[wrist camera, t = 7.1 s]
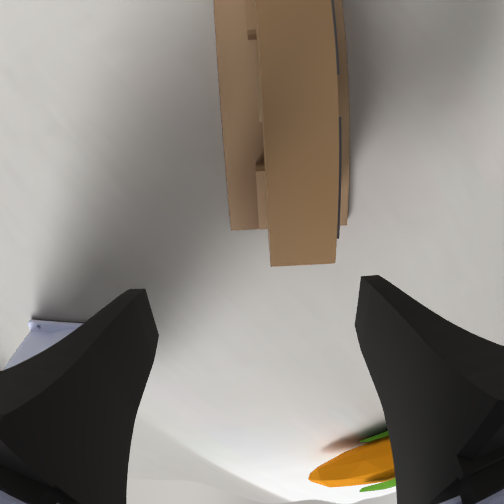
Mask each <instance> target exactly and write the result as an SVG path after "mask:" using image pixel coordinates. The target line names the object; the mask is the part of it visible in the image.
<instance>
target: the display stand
mask: <svg viewBox="0 0 504 504" xmlns="http://www.w3.org/2000/svg"><path fill="white" fill-rule="evenodd" d="M334 8H335V18H336V28H337V40H338V54H339V70H340V75H337V83H338V110H339V117H341V129H342V168H341V208H340V225H347V216H348V193H349V90H348V69H347V53H346V39H345V28H344V17H343V8H342V0H334ZM214 15H215V32H216V47H217V63H218V77H219V91H220V104H221V118H222V130H223V143H224V155H225V167H226V179H227V190H228V202H229V213H230V224H231V230H247V229H268V225H267V203H266V183H265V163H264V145H263V127H262V110H261V93H260V78H259V62H258V48H257V33H256V19H255V6H254V0H214Z"/></svg>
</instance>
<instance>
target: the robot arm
mask: <svg viewBox="0 0 504 504" xmlns="http://www.w3.org/2000/svg"><path fill="white" fill-rule="evenodd" d="M28 326H29V328H30V330H31V331H30V332H29V334H28V335H27V336H26V338H25V339H24V340H23V342H22V343H21V345H20V346H19V347H18V349H17V350H16V352H15V353H14V354H13V356H12V357H11V359H10V360H9V361H8V363H7V364H6V366H5V367H4V369H3V371H0V504H126V487H127V473H128V462H129V454H130V446H131V439H132V433H133V428H134V422H135V418H136V414H137V410H138V407H139V404H140V401H141V398H142V395H143V392H144V389H145V386H146V383H147V380H148V377H149V374H150V371H151V368H152V365H153V362H154V358H155V353H156V348H157V343H158V337H159V334H158V331H157V328H156V324H155V321H154V318H153V314H152V311H151V308H150V304H149V301H148V297H147V293H146V290H145V289H129V290H127V291H126V292H124V293H123V294H121V295H120V296H118V297H117V298H116V299H115V300H113V301H112V302H111V303H109V304H108V305H107V306H106V307H104V308H103V309H102V310H100V311H99V312H98V313H97V314H95V315H94V316H93V317H92V318H90V319H89V320H88V321H86V322H85V323H69V322H55V321H42V320H29V322H28ZM355 328H356V332H357V337H358V341H359V344H360V348H361V351H362V354H363V357H364V359H365V362H366V364H367V367H368V370H369V372H370V375H371V377H372V380H373V382H374V385H375V388H376V390H377V393H378V396H379V398H380V401H381V404H382V407H383V411H384V415H385V419H386V424H387V428H388V433H389V438H390V444H391V450H392V455H393V462H394V470H395V479H396V491H397V504H504V346H502V345H499V344H496V343H494V342H491V341H489V340H486V339H484V338H481V337H479V336H477V335H475V334H472V333H470V332H468V331H466V330H464V329H462V328H460V327H458V326H457V325H455V324H453V323H451V322H449V321H447V320H446V319H444V318H442V317H441V316H439V315H437V314H436V313H434V312H433V311H431V310H429V309H428V308H426V307H425V306H423V305H422V304H420V303H419V302H417V301H416V300H414V299H413V298H412V297H410V296H409V295H407V294H406V293H404V292H403V291H402V290H400V289H399V288H397V287H396V286H394V285H393V284H391V283H390V282H388V281H387V280H385V279H384V278H382V277H381V276H379V275H373V276H361V281H360V290H359V298H358V306H357V313H356V320H355Z"/></svg>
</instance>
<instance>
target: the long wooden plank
mask: <svg viewBox="0 0 504 504" xmlns="http://www.w3.org/2000/svg"><path fill="white" fill-rule="evenodd" d="M254 6H255V19H256V33H257V48H258V62H259V78H260V93H261V110H262V127H263V145H264V163H265V183H266V203H267V225H268V239H269V251H270V264H271V267H272V266H292V265H312V264H330V263H335V258H336V242H337V239H338V238H339V230H340V208H341V168H342V129H341V117H339V110H338V83H337V75H340V70H339V54H338V40H337V28H336V18H335V8H334V0H254Z"/></svg>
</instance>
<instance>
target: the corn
mask: <svg viewBox="0 0 504 504" xmlns="http://www.w3.org/2000/svg"><path fill="white" fill-rule="evenodd" d="M372 440H373V441H372ZM369 441H371V442H369ZM360 442H368V443H366V444H364V445H361V446H359V447H356V448H354V449H351V450H349V451H346V452H344V453H342V454H340V455H339V456H337V457H335V458H333V459H331V460H330V461H328V462H326V463H324V464H322V465H320V466H319V467H317V468H316V469H315V470H314V471H312V472H311V473H310V475H309V479H308V480H310V481H312V482H315V483H318V484H321V485H324V486H328V487H341V486H353V485H362V484H370V483H378V482H382V483H379V484H375V485H371V486H368V487H365V488H362V489H361V490H360V492H365V491H374V490H381V489H387V488H390V487H394V486H396V479H395V470H394V462H393V455H392V450H391V444H390V438H389V433H388V431H386V432H383V433H380V434H377V435H375V436H372V437H369V438H367V439H364V440H361V441H360ZM388 480H389V481H388ZM385 481H386V482H385Z"/></svg>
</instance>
